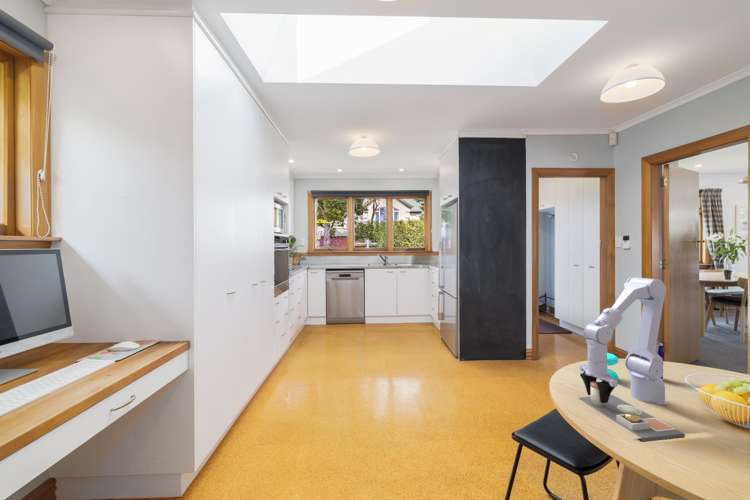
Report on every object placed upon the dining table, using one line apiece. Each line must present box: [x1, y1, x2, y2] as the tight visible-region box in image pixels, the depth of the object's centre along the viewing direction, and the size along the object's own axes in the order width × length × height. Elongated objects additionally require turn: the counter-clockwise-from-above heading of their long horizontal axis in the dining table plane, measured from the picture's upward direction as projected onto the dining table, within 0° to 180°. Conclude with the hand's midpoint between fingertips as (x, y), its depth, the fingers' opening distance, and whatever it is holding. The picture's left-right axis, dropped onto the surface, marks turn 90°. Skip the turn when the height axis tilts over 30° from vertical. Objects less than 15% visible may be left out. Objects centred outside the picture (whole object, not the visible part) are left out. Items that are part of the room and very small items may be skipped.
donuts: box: [607, 352, 619, 381], centre depth 139 cm, size 10×10×10 cm
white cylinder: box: [590, 380, 604, 406], centre depth 115 cm, size 4×4×7 cm
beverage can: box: [647, 341, 664, 380], centre depth 138 cm, size 5×5×15 cm
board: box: [578, 394, 686, 443], centre depth 108 cm, size 14×25×3 cm, turn 7°
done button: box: [625, 412, 640, 423], centre depth 102 cm, size 4×4×2 cm
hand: (597, 398), depth 115 cm, fingers open, 5 cm apart
